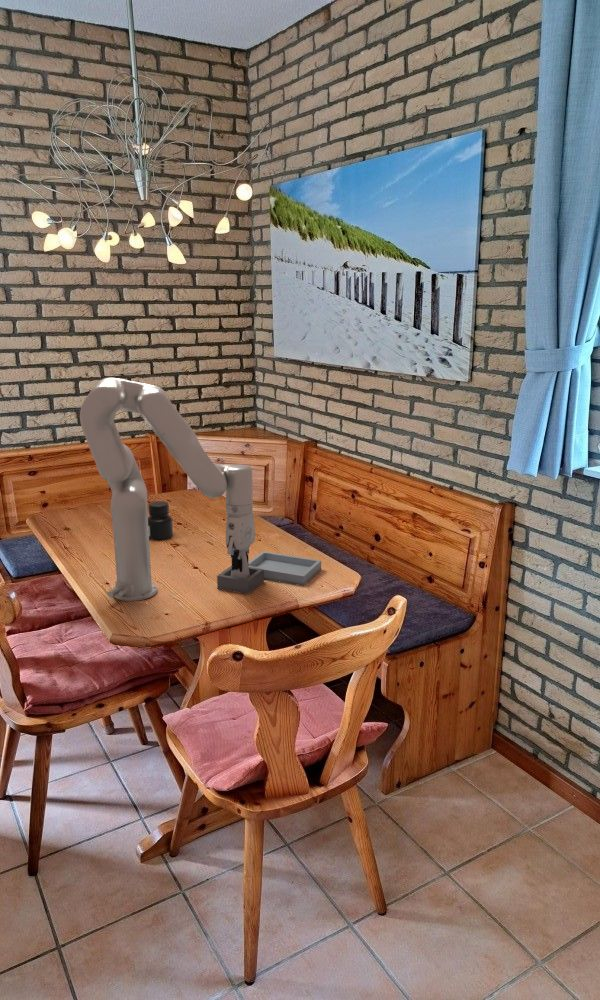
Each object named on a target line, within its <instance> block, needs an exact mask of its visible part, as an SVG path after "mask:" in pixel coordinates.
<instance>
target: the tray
mask: <svg viewBox="0 0 600 1000" xmlns="http://www.w3.org/2000/svg"><path fill="white" fill-rule="evenodd" d="M248 565H249V566H248V567H254V568H259V569H264V580H269V581H274V582H279V581H280V583H284V584H290V583H291V584H292V585H296V584H298V585H297V586H302V585H303V586H302V587H304V586H305V585H306V584H307V583H309V581H311V580H312V579H313V578H314V577H316V576H317V574H318V573H320V572H321V570H322V560H321V559H314V558H307V557H300V556H296V555H288V554H283V553H282V554H281V553H278V552H277V553H276V552H269V551H264V550H263V551H261V552H260V553H258V554H257V555H255V557H253V558H251V559H250V560H248ZM310 579H311V580H310Z"/></svg>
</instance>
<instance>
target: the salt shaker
mask: <svg viewBox="0 0 600 1000" xmlns="http://www.w3.org/2000/svg"><path fill="white" fill-rule="evenodd" d="M234 548H236V547H235V546H234ZM247 549H248V547H247V548H245V549H244V550H242V551H241V559H242V572H240V570H239V569H238V570H233V571H231V576H232V577H237V578H243V579H247V578H248V577H250V573H249V568H248V562H249V561H248V562H247V557H246V551H247ZM234 552H237V554H238V551H235V550H234Z"/></svg>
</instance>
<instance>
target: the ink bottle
mask: <svg viewBox="0 0 600 1000" xmlns="http://www.w3.org/2000/svg"><path fill="white" fill-rule="evenodd" d="M169 509H170V507H169V502H167V501H163V500H155V501H151V502H149V503H148V530H149V540H152V541H153V540H155V541H165V540H168V539H170V538H172V537H173V535H174V530H173V525H174V524H173V518H172V516H171V515H169V514H170V510H169Z"/></svg>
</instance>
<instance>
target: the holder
mask: <svg viewBox="0 0 600 1000" xmlns="http://www.w3.org/2000/svg"><path fill="white" fill-rule="evenodd" d="M248 568H249V573H250V577H248V578H247V579H243V578H237V577H232V576H231V571H232V565H230V566H229V567H228V568H225V570H223V571H222V572H220V573H219V574H217V576H216V583H217V584H216V585H217V589H218V590H222V589H223V590H222V591H228V590H229V592H233V591H235V592H234V593H238V592H240V593H239V594H244V593H245V595H250V594H251V593H252V592H253V591H254V590H256V589H257V588H258V587H260V586H261V585H262V584H263V583H264V582H265V579H264V569H259V568H254V567H248Z"/></svg>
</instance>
